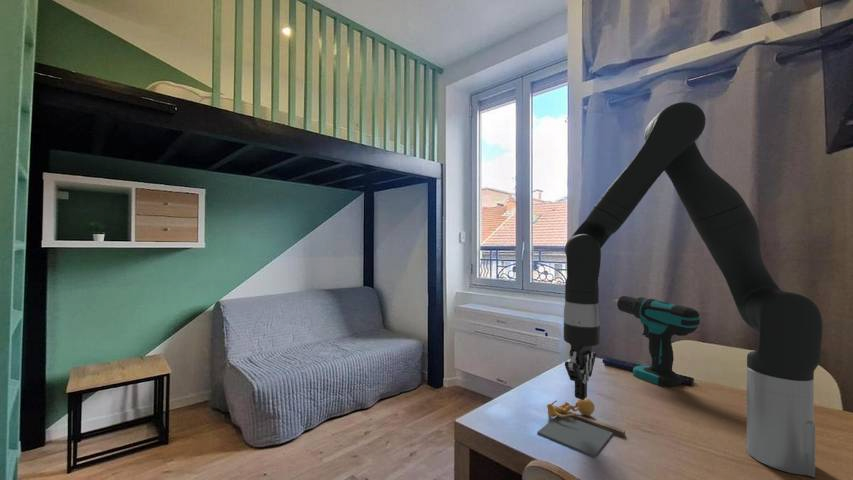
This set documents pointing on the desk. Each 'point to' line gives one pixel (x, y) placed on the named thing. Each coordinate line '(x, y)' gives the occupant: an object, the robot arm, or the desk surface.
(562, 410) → the figurine
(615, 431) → the bar
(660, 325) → the power drill
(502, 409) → the desk surface
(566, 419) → the mat
